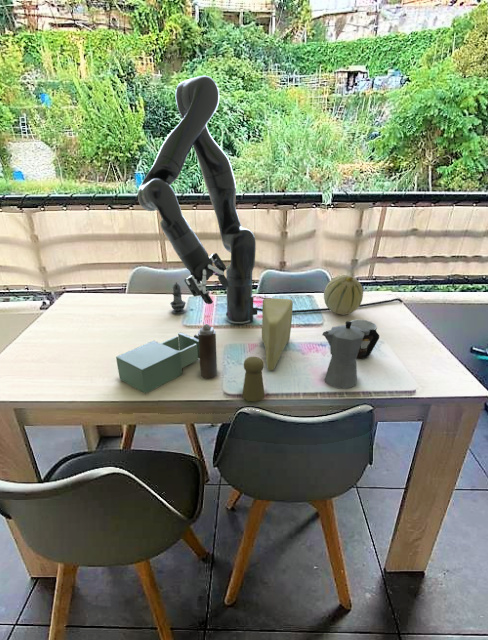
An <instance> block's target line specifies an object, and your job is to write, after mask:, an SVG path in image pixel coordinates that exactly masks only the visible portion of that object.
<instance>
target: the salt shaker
mask: <svg viewBox="0 0 488 640" xmlns="http://www.w3.org/2000/svg"><path fill="white" fill-rule="evenodd" d="M181 291H182V289H181V284H179V283H178V282H177V281H176V282H175V284H173V285H172V292H173V293H172V296H173V300H172V301H171V302H170V303H169V305H170V306H171V308H172V309H173V310H172V311H171V314H173V315H184V314H185V313H186V310H185V307H186V301H184V300H183V299H182V294H183V293H182V292H181Z"/></svg>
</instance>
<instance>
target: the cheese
mask: <svg viewBox="0 0 488 640" xmlns="http://www.w3.org/2000/svg"><path fill="white" fill-rule="evenodd" d="M293 304H294V302H293V300H292V299H290V298H275V297H274V298H273V297H267V298H266V297H265V298H263V299H262V308H261V309H262V311H261V312H262V313H261V314H262V315H261V316H262V317H261V318H262V319H261V340H262V342H263V346H264V349H265V361H266V362H265V363H266V367H267V370H268V371H274V370H275V368H276V367H277V364H278V362H279V359H280V357H281V355H282V353H283V352H284V350H285V348H286V346H287V344H288V343H289V341H290V339H291V332H292V331H291V330H292V322H293V313H292V311H293Z"/></svg>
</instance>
